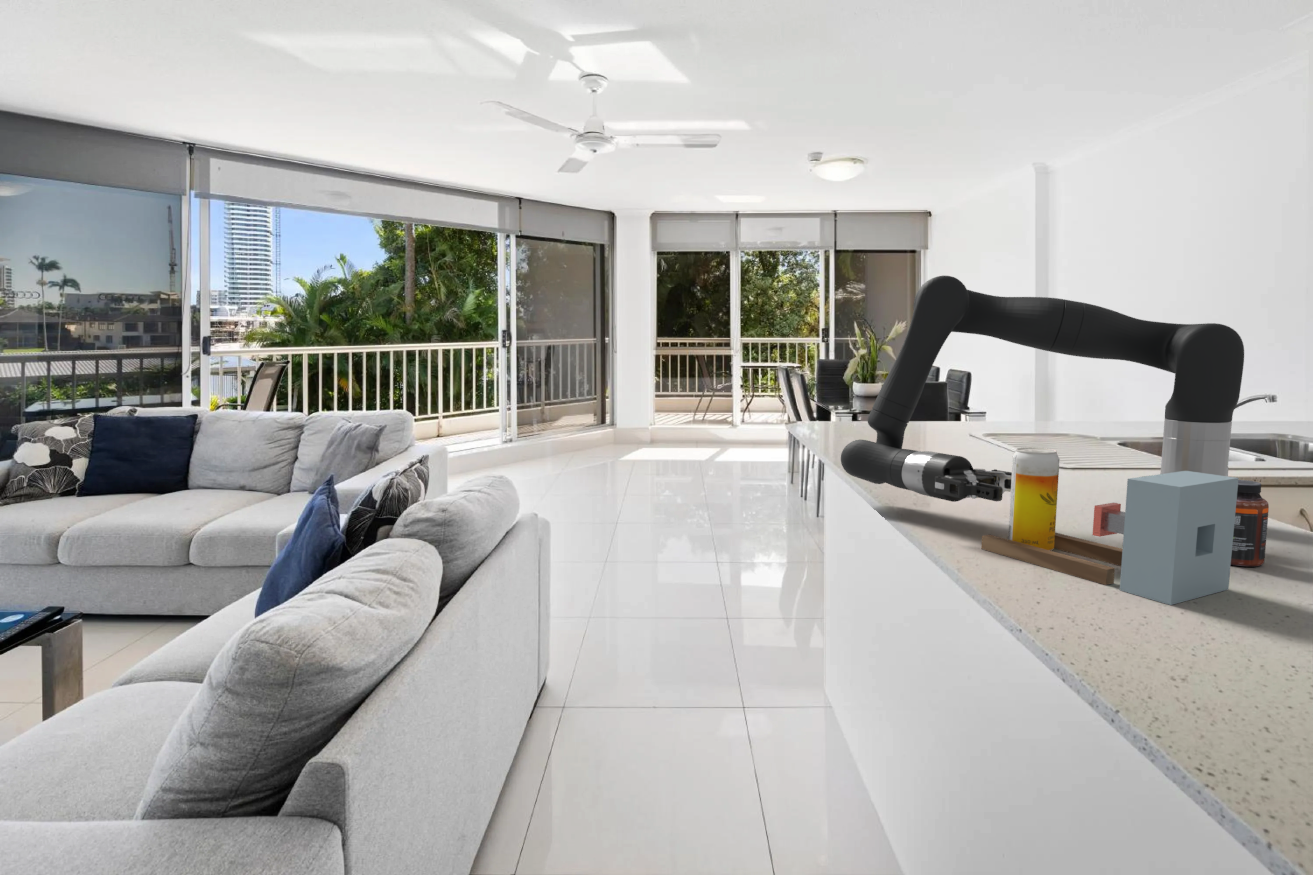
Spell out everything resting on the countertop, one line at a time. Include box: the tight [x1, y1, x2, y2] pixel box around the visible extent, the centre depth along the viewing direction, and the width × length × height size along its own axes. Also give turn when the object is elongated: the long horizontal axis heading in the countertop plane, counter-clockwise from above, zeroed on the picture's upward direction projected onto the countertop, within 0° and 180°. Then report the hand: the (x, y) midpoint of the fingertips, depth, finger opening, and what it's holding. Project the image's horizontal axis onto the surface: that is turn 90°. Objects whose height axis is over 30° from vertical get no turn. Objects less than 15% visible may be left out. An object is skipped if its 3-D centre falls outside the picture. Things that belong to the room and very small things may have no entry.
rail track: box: [980, 532, 1123, 586], centre depth 106 cm, size 11×19×2 cm, turn 26°
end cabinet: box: [1119, 471, 1240, 606], centre depth 92 cm, size 12×6×14 cm, turn 116°
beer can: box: [1007, 446, 1061, 551], centre depth 110 cm, size 6×6×15 cm
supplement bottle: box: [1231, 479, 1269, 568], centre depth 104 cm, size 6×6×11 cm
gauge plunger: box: [1092, 502, 1125, 538], centre depth 96 cm, size 4×10×4 cm, turn 26°
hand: (1021, 491), depth 112 cm, fingers open, 8 cm apart
